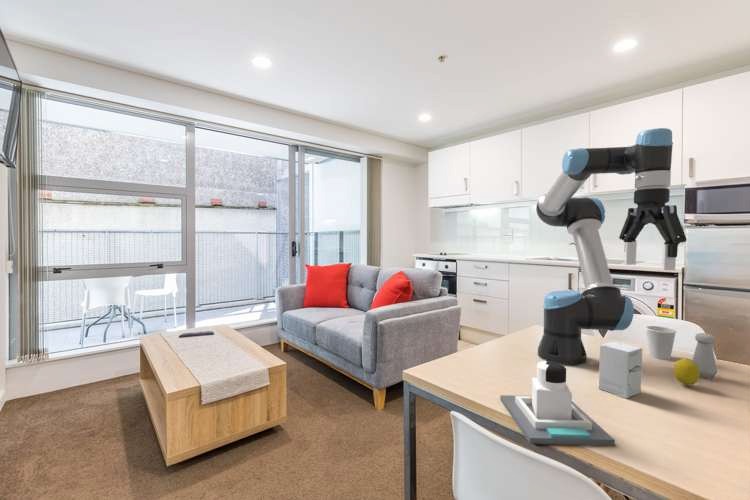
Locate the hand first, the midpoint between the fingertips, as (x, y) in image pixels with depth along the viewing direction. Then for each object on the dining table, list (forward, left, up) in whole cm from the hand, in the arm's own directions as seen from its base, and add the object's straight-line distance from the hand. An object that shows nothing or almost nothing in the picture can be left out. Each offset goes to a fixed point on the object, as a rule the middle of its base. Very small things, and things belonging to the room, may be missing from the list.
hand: (647, 267), depth 94 cm
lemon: (-3, +14, -35) cm, 37 cm away
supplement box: (+1, -7, -35) cm, 35 cm away
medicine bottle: (+17, -33, -33) cm, 50 cm away
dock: (+17, -33, -34) cm, 51 cm away
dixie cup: (-27, +25, -35) cm, 50 cm away
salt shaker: (-10, +25, -35) cm, 44 cm away
